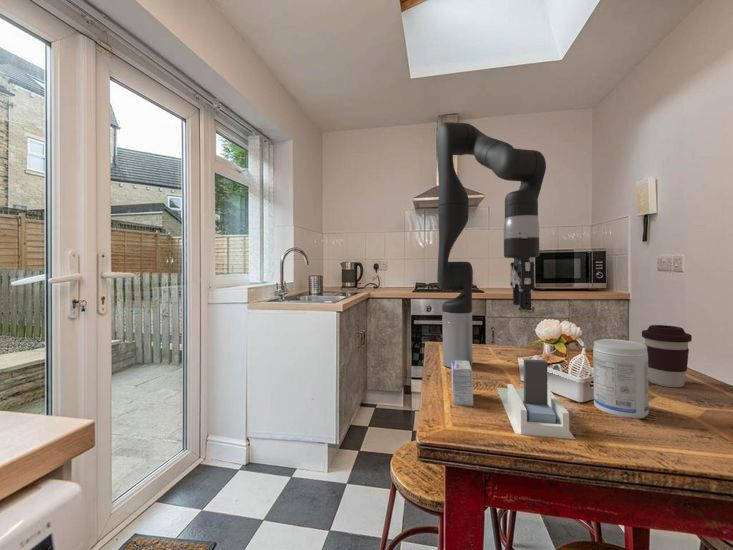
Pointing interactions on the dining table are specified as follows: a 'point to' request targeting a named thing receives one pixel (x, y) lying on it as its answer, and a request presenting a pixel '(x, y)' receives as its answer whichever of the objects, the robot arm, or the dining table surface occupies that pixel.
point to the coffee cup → (667, 354)
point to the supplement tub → (621, 377)
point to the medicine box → (462, 383)
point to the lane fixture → (518, 420)
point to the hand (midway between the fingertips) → (521, 306)
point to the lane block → (537, 392)
